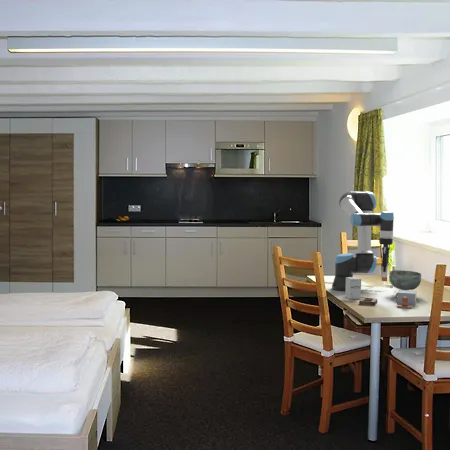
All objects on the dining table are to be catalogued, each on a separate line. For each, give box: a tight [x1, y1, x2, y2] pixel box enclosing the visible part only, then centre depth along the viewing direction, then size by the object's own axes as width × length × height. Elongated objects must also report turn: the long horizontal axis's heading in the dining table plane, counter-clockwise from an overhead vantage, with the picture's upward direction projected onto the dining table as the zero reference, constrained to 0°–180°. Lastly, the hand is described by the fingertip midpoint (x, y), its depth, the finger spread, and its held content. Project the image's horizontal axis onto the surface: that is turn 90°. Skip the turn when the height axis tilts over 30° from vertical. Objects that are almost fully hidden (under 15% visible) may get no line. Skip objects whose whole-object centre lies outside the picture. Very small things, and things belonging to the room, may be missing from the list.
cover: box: [396, 289, 417, 307], centre depth 371 cm, size 10×10×7 cm
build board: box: [358, 296, 378, 307], centre depth 370 cm, size 11×9×2 cm
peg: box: [381, 263, 389, 282], centre depth 375 cm, size 3×3×10 cm
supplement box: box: [344, 276, 362, 300], centre depth 385 cm, size 7×7×13 cm
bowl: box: [388, 269, 422, 297], centre depth 393 cm, size 20×19×15 cm
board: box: [396, 297, 414, 310], centre depth 361 cm, size 8×8×6 cm
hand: (384, 276), depth 375 cm, fingers closed on peg, 3 cm apart
